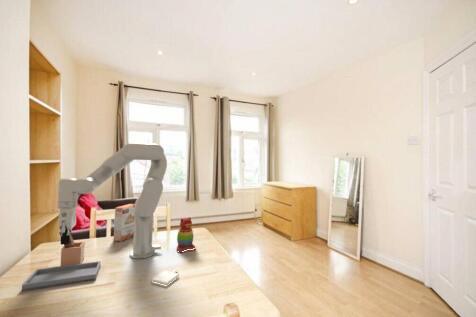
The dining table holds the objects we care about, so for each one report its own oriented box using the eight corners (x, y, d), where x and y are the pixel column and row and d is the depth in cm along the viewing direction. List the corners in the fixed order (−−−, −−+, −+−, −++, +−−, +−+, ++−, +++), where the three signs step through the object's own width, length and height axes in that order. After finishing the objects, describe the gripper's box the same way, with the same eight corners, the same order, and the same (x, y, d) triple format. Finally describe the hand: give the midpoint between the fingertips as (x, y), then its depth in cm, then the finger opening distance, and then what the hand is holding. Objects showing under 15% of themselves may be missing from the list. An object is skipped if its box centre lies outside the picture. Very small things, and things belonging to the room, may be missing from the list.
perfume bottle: (151, 278, 94) (169, 266, 105) (151, 283, 94) (169, 270, 105) (166, 283, 91) (183, 270, 102) (166, 288, 91) (183, 274, 102)
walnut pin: (80, 259, 110) (80, 226, 110) (78, 262, 107) (79, 228, 107) (60, 262, 107) (61, 228, 107) (58, 265, 104) (59, 230, 104)
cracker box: (121, 242, 137) (122, 208, 138) (113, 241, 139) (114, 207, 139) (136, 234, 151) (137, 204, 151) (128, 234, 152) (129, 203, 153)
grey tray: (100, 266, 106) (100, 261, 106) (95, 279, 94) (95, 274, 94) (36, 275, 97) (36, 269, 97) (21, 291, 85) (21, 284, 85)
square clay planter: (83, 259, 113) (84, 241, 113) (80, 266, 106) (81, 247, 106) (65, 261, 110) (66, 243, 110) (60, 268, 103) (61, 249, 103)
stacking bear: (178, 253, 124) (180, 221, 124) (173, 247, 132) (174, 217, 132) (197, 250, 130) (198, 219, 130) (190, 244, 138) (191, 215, 138)
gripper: (72, 207, 101) (70, 248, 101) (81, 200, 116) (79, 236, 116) (51, 208, 98) (49, 250, 98) (63, 201, 113) (61, 237, 112)
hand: (66, 242), depth 107 cm, fingers closed on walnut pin, 3 cm apart
